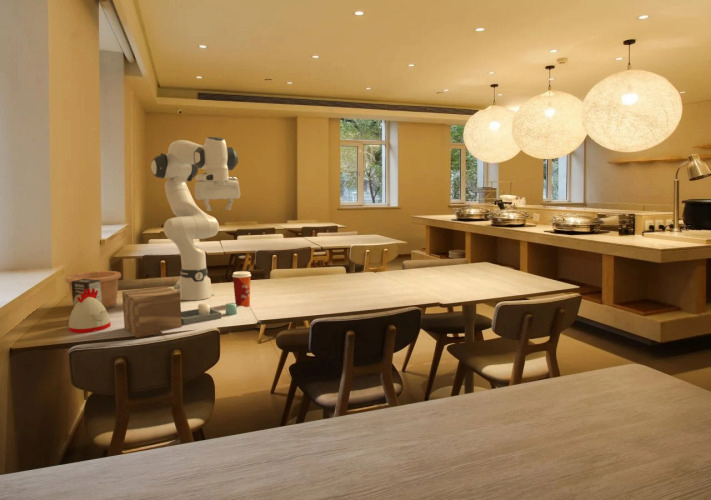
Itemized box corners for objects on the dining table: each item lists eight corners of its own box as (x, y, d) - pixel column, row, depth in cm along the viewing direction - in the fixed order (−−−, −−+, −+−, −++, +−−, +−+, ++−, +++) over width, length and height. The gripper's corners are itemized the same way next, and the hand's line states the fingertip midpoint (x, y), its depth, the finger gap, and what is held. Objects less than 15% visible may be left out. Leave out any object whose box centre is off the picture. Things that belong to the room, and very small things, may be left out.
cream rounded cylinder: (197, 316, 198) (196, 304, 197) (207, 315, 200) (207, 302, 200) (201, 319, 194) (200, 306, 194) (212, 317, 197) (211, 304, 196)
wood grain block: (124, 327, 186) (122, 291, 184) (167, 320, 196) (165, 285, 194) (136, 337, 174) (134, 299, 172) (181, 329, 184) (179, 292, 182)
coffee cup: (247, 308, 215) (246, 274, 213) (230, 307, 216) (228, 274, 214) (255, 304, 223) (254, 271, 221) (238, 303, 224) (237, 270, 222)
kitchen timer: (118, 325, 190) (115, 287, 188) (86, 335, 178) (83, 294, 176) (93, 321, 196) (90, 284, 194) (60, 330, 184) (57, 291, 182)
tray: (173, 320, 195) (172, 313, 195) (209, 314, 205) (209, 307, 204) (183, 327, 186) (183, 319, 186) (221, 320, 196) (221, 312, 195)
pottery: (73, 303, 226) (71, 272, 225) (126, 299, 233) (124, 269, 231) (61, 314, 206) (58, 281, 204) (119, 310, 213) (117, 277, 211)
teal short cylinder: (224, 316, 203) (223, 304, 202) (233, 314, 205) (233, 302, 205) (228, 318, 199) (228, 306, 199) (238, 316, 202) (238, 304, 201)
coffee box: (73, 320, 197) (70, 281, 195) (86, 316, 203) (83, 278, 201) (90, 322, 194) (87, 282, 192) (104, 318, 200) (101, 279, 198)
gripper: (233, 177, 214) (235, 209, 215) (191, 176, 198) (193, 211, 200) (242, 176, 210) (244, 209, 211) (200, 176, 194) (202, 211, 196)
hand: (219, 210), depth 205 cm, fingers open, 8 cm apart
